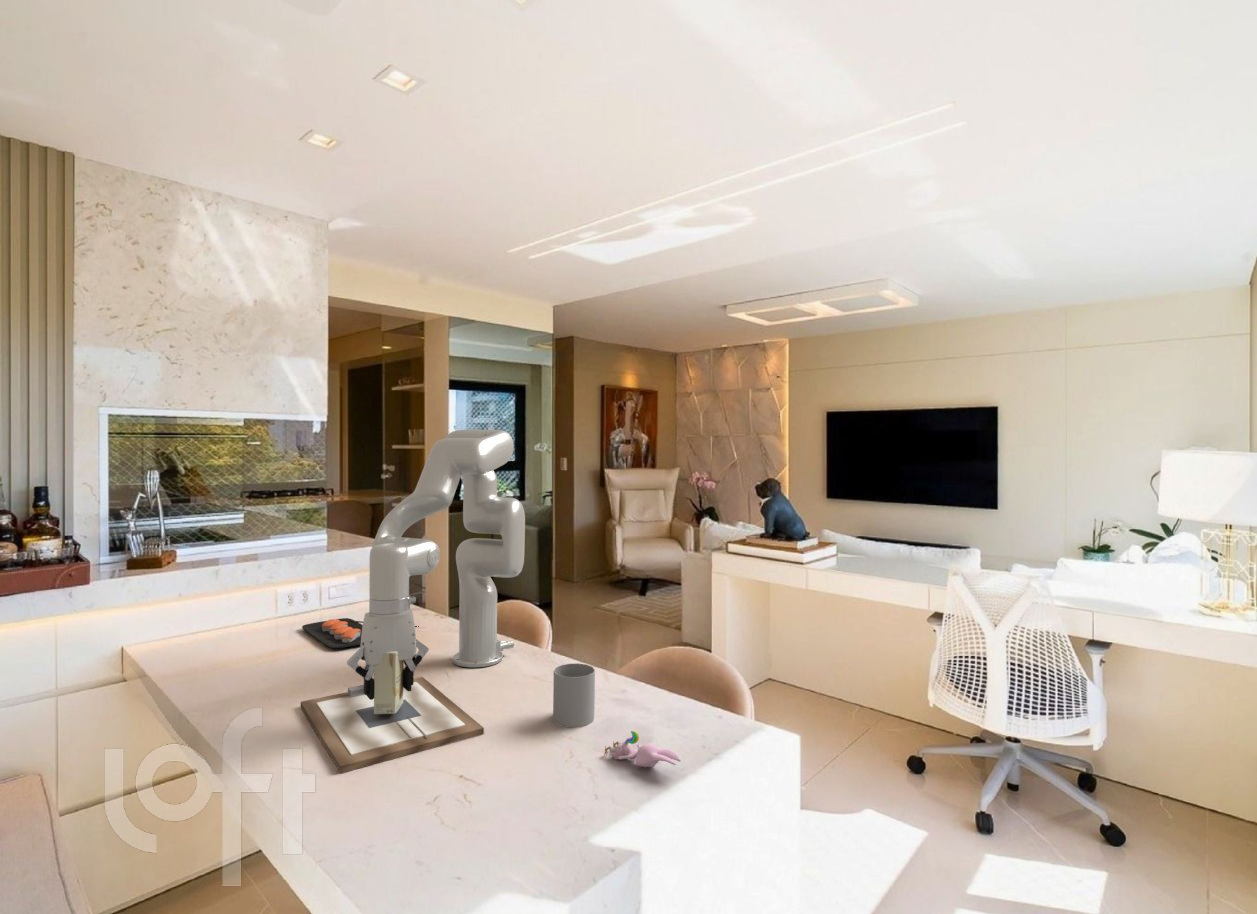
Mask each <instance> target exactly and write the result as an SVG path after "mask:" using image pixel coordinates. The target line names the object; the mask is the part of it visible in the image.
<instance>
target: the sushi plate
mask: <svg viewBox="0 0 1257 914" xmlns="http://www.w3.org/2000/svg"><path fill="white" fill-rule="evenodd" d="M362 626H363V620H362V621H360V620H354V619H352V618H348V617H343V618H336V619H335V618H333V619H327V620H324V621H323V620H322V621H317V622H312V623H307V624H304V625H302V627H301V629H302V630H304V631H305V632H306V633H308V634H309V635H310V636H311V637H313V638H315V639H316V640H317V641H318V642H320V643H321V644H323V645H325V646H326V647H328V648H329V649H330V648H331V649H342V648H344V649H345V648H350V647H356V646H361V635H362ZM417 626H418V627H419V625H415V627H417Z"/></svg>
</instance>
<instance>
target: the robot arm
mask: <svg viewBox="0 0 1257 914" xmlns="http://www.w3.org/2000/svg"><path fill="white" fill-rule="evenodd" d="M514 447H515V446H514V440H513V438H512V435H510V434H509V432H507V431H506V430H502V429H457V430H454V431H451V432H449V433H448V434H447V436H446V437H445V438H442V439H438V440H437V441H436V442H435V443H433V445H432V447H431V448H430V451H429V454H428V456H427V459H426V461H425V463H424V465H423V466H424V467H423V468H422V471H421V474H420V477H419V479H418V481H417V484H416V486H415V489H414V491H413V492H412V493H411V494H409V495H407V497H405V498H404V499H402V501H401V502H399V503H398V504H397V505H396V506H394V507H393V508H392V509H391V510H390V511H389V512H388V513H387V515H385V517H384V519H383V520H382V522H381V523H380V525H379V527H378V529H377V533H376V535H375V538H374V540H373V542H372V546H371V549H370V551H369V584H368V585H369V596H368V598H369V604H368V606H369V609H368V611H369V612H366V613H365V614H364V617H363V620H362V622H363V623H362V625H363V626H362V635H361V645H359V648H358V649H357V651H355V653H353V655H352V656H350V658H349V659H347V661H346V665H348V666H349V667H350V668H351V669H352V670H353V671H355V673H357V674H359V675H360V677H362V678H363V685H364V694H365V695H367V697H368V698H369V699H370V700H372V699H374V677H373V676H374V667H375V666H376V665H379V664H381V661H382V658H383V654H385V653H388V652H395V651H397V652H398V659H399V661H403V665H404V667H403V687H404V688H405V689H406V690H407V691H411V685H413V679H414V678H415V677H414V673H415V671H416V669H417V666H419V665H420V662H422V660H423V658H424V657H426V655H427V653H428V652H429V650H430V648H429V647H428V646H426V645H425V644H424V643H422V642H421V641H419V640H418V639H417V633H416V628H415V626H416V624H415V619H414V614H413V610H412V609H411V605H412V604H415V603H416V601H417V598H416V596H415V595H414V596H411V595H410V577H411V576H420V575H421V576H423V575H427V574H429V573H431V572H433V571H434V570H435V569H436V567H437V566H439V563H440V560H441V549H440V546H438V545H439V544H437V543H436V542H434V541H433V540H430V539H428V538H417V537H416V538H415V537H403V535H404V533H405V532H406V531H407V530H408V528H410V527H411V526H412V525H414V524H415V523H417V522H419V521H420V520H422V519H426V518H428V517H430V516H433V515H435V514H437V513H440V512H443V511H445V510H446V509H448V508H449V507H450V506H451V504H453V503H452V502H453V501H454V497H455V494H456V490H457V489H458V486H459V483H460V480H461V477H462V481H463V482H462V483H463V493H462V494H463V502H462V503H463V506H462V508H463V509H462V515H463V516H462V521H463V526H464V528H465V529H466V531H468V532H470V533H473V534H474V533H475V534H490V535H501V539H499V538H498V539H497V538H482V537H478V538H477V537H475V538H468V539H465V540H463V541H462V542H460V543H459V545H458V547H457V548H456V551H455V562H456V568H457V575H458V580H459V581H458V583H459V609H458V610H459V624H458V625H459V626H458V627H459V630H458V638H459V639H458V652H457V653H455V654H454V655H453V656H452V662H453V664H454V665H456V666H459V667H464V668H484V667H489V666H493V665H496V664H498V663H500V662H501V661H502V660H503V653H502V652H503V651H504V650H505V649H506V650H508V649H513V648H515V647H514V646H515V643H514V641H513V640H508V641H506V640H505V639H501V640H498V638H497V636H498V635H497V634H498V631H497V629H498V589H497V587H496V584H495V582H494V581H493V579H492V578H491V577H495V578H514V577H518V576H519V575H520V574H521V572H522V571H523V568H524V564H525V549H526V548H525V546H526V543H525V542H526V541H525V539H526V537H525V536H526V514H525V508H524V506H523V504H522V502H521V501H519V499H516V498H514V497H509V496H508V497H505V496H498V478H497V474H496V472H495V471H494V470H497V469H498V468H500V467H502V466H504V465H505V464H507V463H508V462H509V461H510V459H511V458H512V456H513V453H514ZM417 649H418V651H417ZM360 660H362V661H365V665H364V667H362V666H361V665H360V664H359V663H358V662H359V661H360Z"/></svg>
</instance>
